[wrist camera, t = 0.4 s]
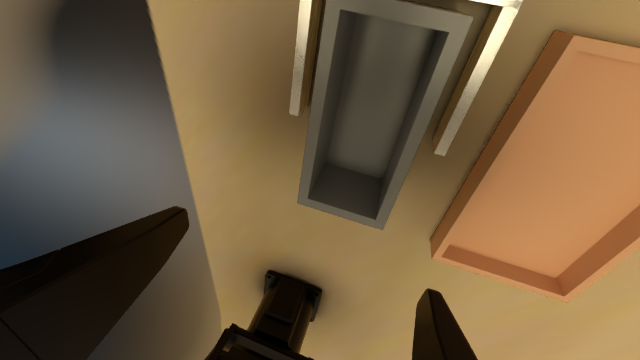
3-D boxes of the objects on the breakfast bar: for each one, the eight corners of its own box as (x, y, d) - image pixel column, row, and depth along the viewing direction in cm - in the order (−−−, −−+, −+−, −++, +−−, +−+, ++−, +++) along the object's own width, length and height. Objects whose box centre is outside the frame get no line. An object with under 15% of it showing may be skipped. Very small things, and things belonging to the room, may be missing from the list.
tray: (555, 278, 21) (567, 302, 19) (430, 239, 22) (431, 258, 20) (787, 77, 12) (845, 90, 10) (555, 30, 13) (574, 35, 11)
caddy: (389, 183, 20) (383, 230, 16) (319, 163, 21) (297, 203, 17) (456, 10, 14) (474, 17, 10) (352, -11, 14) (328, -13, 10)
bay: (441, 141, 17) (444, 156, 16) (299, 103, 19) (289, 113, 17) (513, -8, 13) (527, -8, 11) (317, -45, 14) (304, -50, 12)
